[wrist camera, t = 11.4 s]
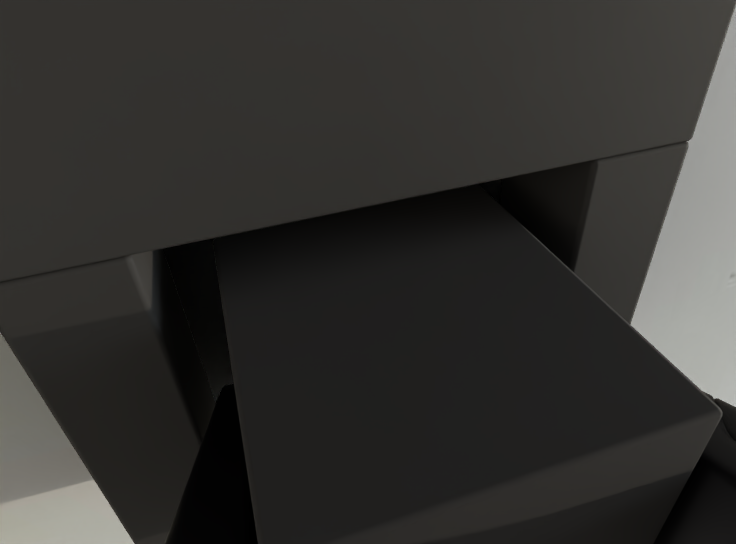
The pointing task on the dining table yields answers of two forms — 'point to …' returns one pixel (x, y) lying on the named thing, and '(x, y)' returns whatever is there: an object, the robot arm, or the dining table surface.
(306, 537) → the pad block
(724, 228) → the dining table surface
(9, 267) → the base pad
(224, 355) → the dining table surface
